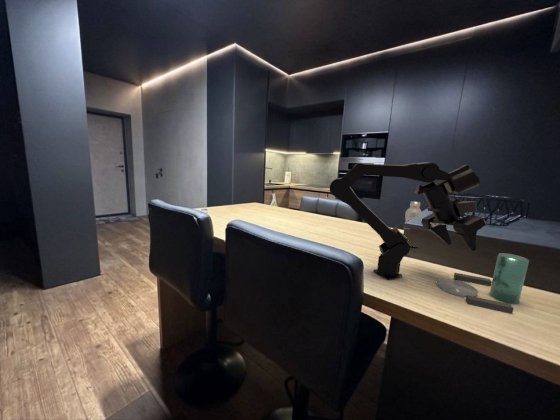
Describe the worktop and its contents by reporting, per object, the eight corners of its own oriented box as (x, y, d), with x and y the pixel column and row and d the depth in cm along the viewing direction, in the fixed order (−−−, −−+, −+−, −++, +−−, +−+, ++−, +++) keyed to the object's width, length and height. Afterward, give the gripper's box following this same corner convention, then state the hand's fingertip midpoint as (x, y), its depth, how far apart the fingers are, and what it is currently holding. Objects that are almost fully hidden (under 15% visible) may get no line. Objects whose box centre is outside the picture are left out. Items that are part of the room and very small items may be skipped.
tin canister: (511, 305, 62) (521, 263, 60) (484, 294, 68) (493, 254, 65) (523, 301, 65) (534, 260, 62) (497, 290, 70) (505, 252, 68)
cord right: (467, 303, 63) (468, 298, 63) (465, 300, 65) (466, 295, 64) (512, 313, 59) (513, 308, 59) (508, 309, 61) (510, 304, 61)
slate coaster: (463, 300, 64) (463, 298, 64) (428, 283, 73) (428, 281, 73) (485, 293, 68) (486, 291, 68) (449, 277, 77) (450, 276, 77)
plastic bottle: (420, 248, 103) (427, 203, 99) (403, 247, 104) (409, 202, 100) (415, 244, 109) (421, 201, 105) (399, 242, 111) (405, 200, 107)
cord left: (455, 279, 76) (455, 275, 76) (453, 276, 78) (454, 272, 78) (490, 286, 72) (491, 281, 72) (488, 283, 74) (489, 278, 74)
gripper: (492, 187, 61) (516, 240, 62) (441, 190, 80) (460, 230, 81) (453, 206, 61) (478, 259, 62) (412, 205, 80) (431, 245, 81)
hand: (461, 247), depth 71 cm, fingers open, 9 cm apart
